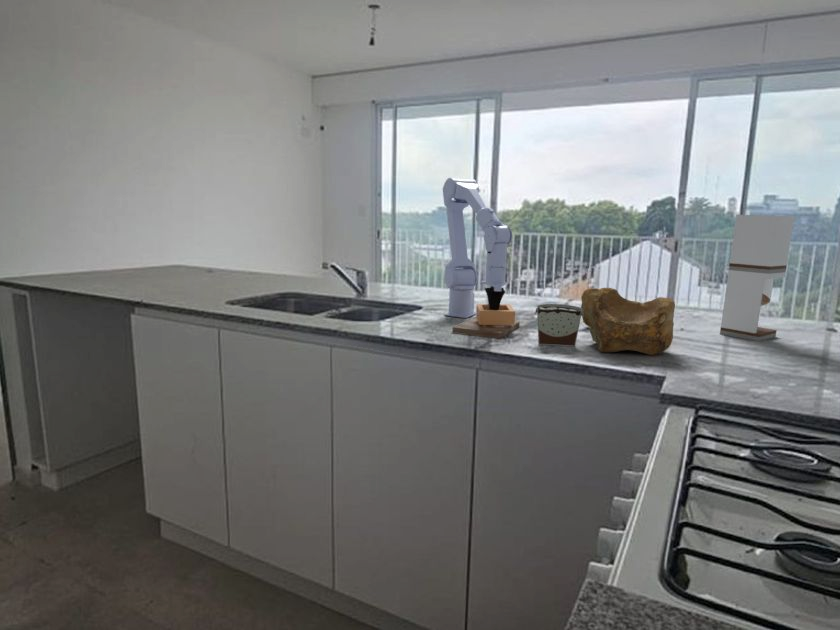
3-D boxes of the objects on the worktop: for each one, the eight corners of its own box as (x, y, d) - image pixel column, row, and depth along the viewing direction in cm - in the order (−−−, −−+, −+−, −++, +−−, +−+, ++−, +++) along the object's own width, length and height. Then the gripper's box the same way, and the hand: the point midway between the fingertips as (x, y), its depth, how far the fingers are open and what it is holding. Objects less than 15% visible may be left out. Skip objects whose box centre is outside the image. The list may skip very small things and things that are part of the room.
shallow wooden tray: (476, 317, 161) (476, 304, 161) (509, 317, 161) (510, 304, 160) (479, 324, 152) (479, 310, 151) (514, 325, 151) (515, 311, 151)
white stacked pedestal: (758, 341, 152) (777, 215, 145) (719, 333, 160) (736, 214, 154) (775, 336, 158) (794, 216, 152) (737, 330, 167) (753, 215, 160)
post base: (475, 321, 168) (476, 304, 167) (519, 326, 162) (520, 308, 161) (452, 332, 151) (453, 313, 150) (500, 338, 145) (501, 318, 144)
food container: (576, 341, 145) (579, 304, 143) (581, 346, 139) (584, 308, 137) (530, 338, 146) (532, 302, 144) (532, 344, 140) (535, 306, 138)
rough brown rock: (563, 352, 136) (569, 295, 131) (580, 335, 149) (586, 283, 145) (663, 371, 124) (672, 308, 120) (671, 350, 138) (680, 294, 134)
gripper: (480, 264, 165) (478, 307, 167) (484, 268, 151) (482, 316, 153) (503, 264, 165) (500, 308, 167) (509, 269, 151) (507, 317, 153)
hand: (493, 312), depth 160 cm, fingers closed on shallow wooden tray
